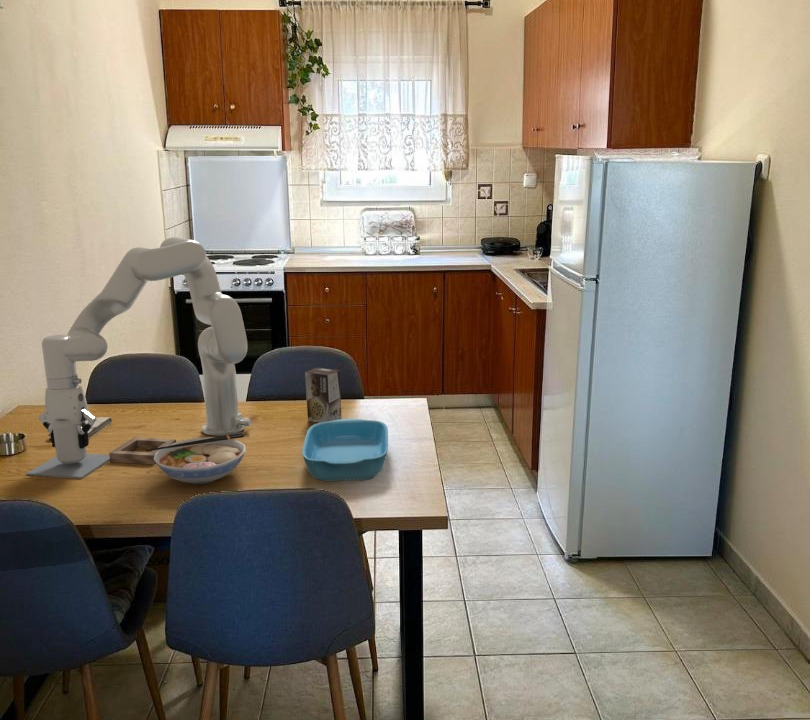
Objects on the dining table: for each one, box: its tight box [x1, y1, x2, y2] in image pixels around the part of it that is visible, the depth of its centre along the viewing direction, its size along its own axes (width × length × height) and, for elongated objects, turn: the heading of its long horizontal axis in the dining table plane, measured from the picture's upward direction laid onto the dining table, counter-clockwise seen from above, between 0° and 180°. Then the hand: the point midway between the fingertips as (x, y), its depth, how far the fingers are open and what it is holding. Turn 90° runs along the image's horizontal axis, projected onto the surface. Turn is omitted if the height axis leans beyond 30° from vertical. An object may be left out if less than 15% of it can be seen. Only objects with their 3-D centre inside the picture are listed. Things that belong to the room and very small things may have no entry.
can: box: [53, 420, 88, 464], centre depth 213 cm, size 8×8×12 cm
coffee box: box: [304, 367, 343, 423], centre depth 248 cm, size 9×6×16 cm
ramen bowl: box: [145, 432, 246, 485], centre depth 203 cm, size 25×23×8 cm
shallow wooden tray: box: [108, 436, 177, 465], centre depth 222 cm, size 13×13×2 cm
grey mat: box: [26, 453, 110, 480], centre depth 215 cm, size 16×16×1 cm
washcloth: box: [48, 416, 113, 440], centre depth 243 cm, size 12×18×3 cm, turn 174°
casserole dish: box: [301, 418, 389, 482], centre depth 214 cm, size 37×22×7 cm, turn 2°
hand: (70, 445), depth 214 cm, fingers closed on can, 7 cm apart
